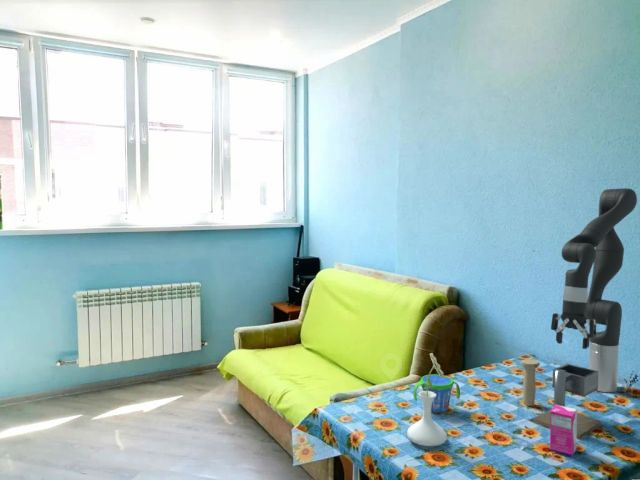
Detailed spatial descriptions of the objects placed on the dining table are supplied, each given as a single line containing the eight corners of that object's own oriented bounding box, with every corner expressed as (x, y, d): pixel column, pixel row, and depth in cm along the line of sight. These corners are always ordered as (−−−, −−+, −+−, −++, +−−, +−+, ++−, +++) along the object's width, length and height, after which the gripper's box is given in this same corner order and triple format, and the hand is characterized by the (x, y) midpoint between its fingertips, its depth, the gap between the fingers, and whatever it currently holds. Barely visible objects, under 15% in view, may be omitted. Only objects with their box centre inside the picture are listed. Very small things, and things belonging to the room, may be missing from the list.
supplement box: (554, 442, 136) (555, 403, 135) (577, 449, 132) (578, 409, 131) (548, 450, 131) (549, 410, 131) (572, 457, 128) (573, 416, 127)
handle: (541, 405, 162) (542, 362, 161) (527, 408, 159) (528, 365, 158) (529, 400, 166) (531, 358, 165) (516, 403, 163) (517, 360, 162)
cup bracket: (559, 408, 159) (560, 356, 158) (604, 423, 148) (606, 366, 147) (533, 422, 149) (534, 366, 148) (579, 439, 138) (581, 378, 137)
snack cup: (416, 415, 154) (416, 385, 153) (410, 402, 164) (410, 374, 164) (464, 416, 154) (465, 385, 153) (455, 402, 164) (456, 374, 164)
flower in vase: (439, 454, 129) (441, 364, 128) (400, 443, 135) (401, 357, 134) (453, 435, 140) (455, 352, 139) (417, 426, 147) (417, 346, 145)
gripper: (601, 302, 162) (598, 349, 162) (559, 296, 173) (556, 340, 174) (592, 303, 158) (588, 351, 158) (549, 297, 169) (546, 342, 169)
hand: (571, 345), depth 166 cm, fingers open, 8 cm apart
